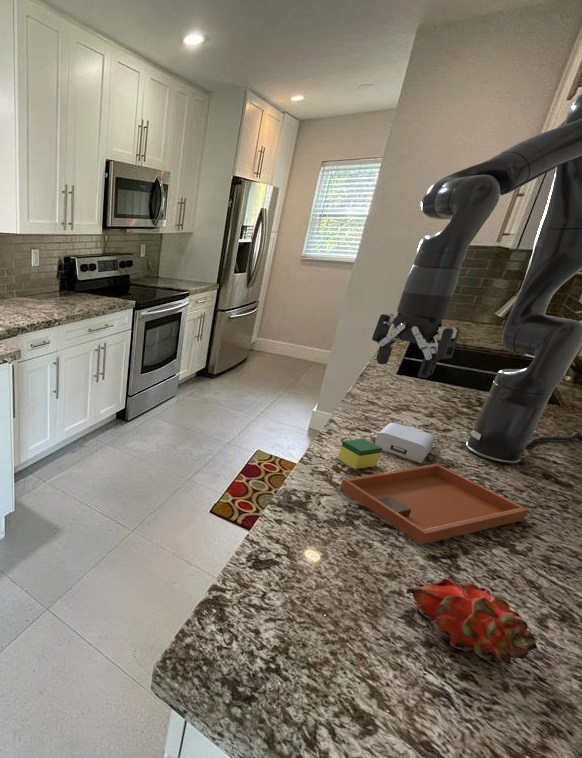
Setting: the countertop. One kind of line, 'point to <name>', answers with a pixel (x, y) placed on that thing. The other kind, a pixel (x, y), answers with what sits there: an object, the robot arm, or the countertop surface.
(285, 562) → the countertop surface
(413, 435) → the charger
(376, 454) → the sponge
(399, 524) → the pan
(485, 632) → the dragon fruit
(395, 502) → the block
